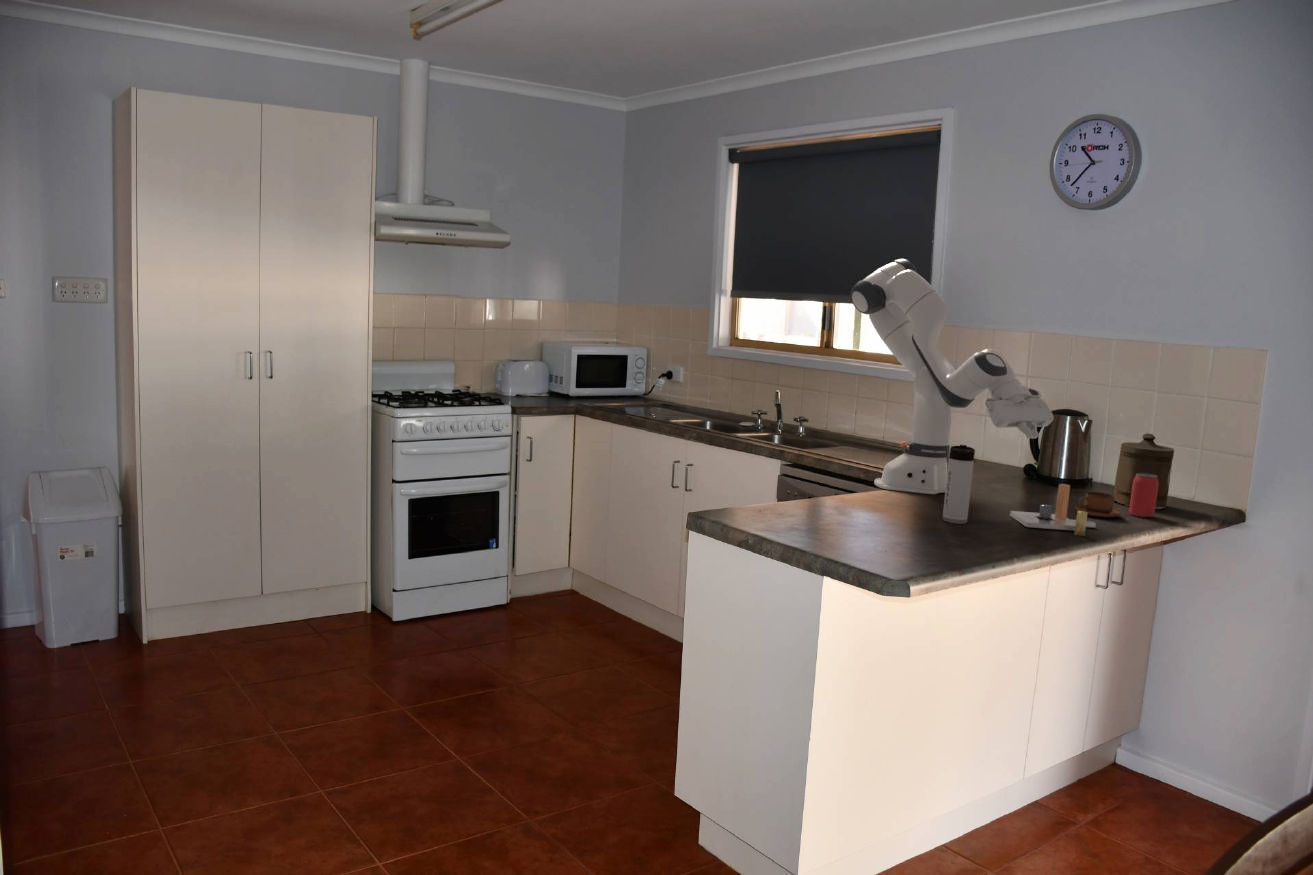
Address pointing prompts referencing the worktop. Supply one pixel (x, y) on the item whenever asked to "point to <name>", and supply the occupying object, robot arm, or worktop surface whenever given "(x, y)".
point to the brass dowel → (1081, 523)
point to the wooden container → (1143, 468)
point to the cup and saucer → (1098, 505)
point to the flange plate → (1057, 519)
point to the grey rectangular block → (1045, 512)
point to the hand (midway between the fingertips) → (1033, 437)
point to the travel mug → (958, 484)
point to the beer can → (1144, 495)
